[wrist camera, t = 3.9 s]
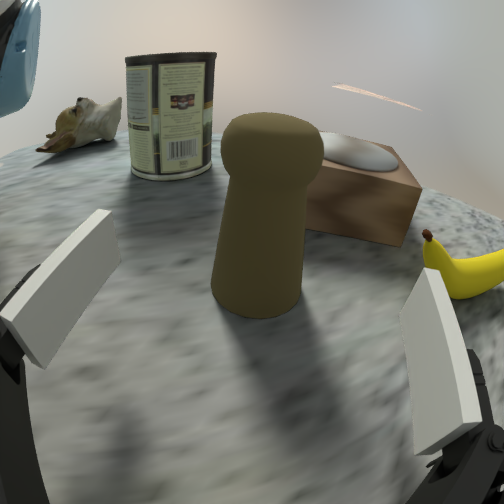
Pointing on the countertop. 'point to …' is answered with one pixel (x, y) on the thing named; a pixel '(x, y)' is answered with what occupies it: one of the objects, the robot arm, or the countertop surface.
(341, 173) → the walnut plinth
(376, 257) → the countertop surface
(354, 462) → the countertop surface
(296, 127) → the cork
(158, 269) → the countertop surface
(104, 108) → the ceramic sculpture
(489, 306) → the countertop surface
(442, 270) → the banana
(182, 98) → the coffee can
